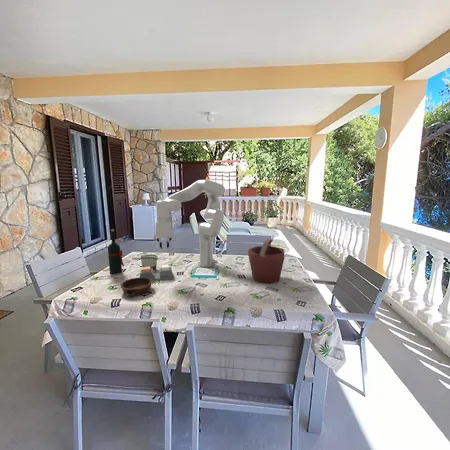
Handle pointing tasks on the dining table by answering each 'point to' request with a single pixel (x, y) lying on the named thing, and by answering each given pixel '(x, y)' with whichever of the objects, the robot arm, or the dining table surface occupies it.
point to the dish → (136, 286)
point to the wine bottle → (114, 256)
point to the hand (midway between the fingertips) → (164, 247)
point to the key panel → (157, 274)
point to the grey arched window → (149, 261)
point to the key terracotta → (146, 269)
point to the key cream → (165, 267)
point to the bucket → (266, 262)
